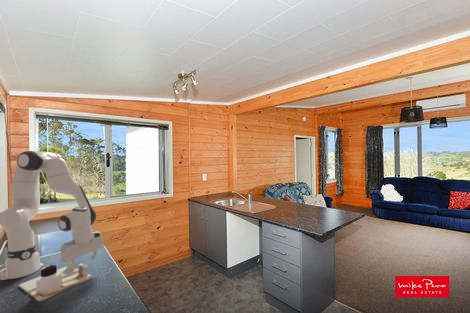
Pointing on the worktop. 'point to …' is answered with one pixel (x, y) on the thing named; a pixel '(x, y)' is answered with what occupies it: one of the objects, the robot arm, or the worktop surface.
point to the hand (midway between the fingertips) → (84, 262)
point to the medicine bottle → (48, 280)
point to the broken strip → (64, 271)
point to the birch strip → (66, 282)
